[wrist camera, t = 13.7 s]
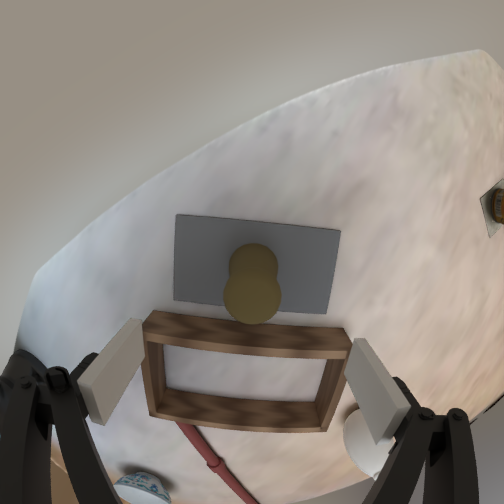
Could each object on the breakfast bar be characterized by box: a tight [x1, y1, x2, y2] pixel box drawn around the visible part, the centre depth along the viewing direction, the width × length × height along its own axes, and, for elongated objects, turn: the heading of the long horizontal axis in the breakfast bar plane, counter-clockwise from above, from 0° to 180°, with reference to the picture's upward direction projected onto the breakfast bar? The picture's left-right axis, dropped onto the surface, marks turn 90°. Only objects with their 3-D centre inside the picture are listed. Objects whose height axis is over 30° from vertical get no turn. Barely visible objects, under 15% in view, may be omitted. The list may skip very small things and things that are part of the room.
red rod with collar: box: [176, 422, 258, 504], centre depth 43 cm, size 45×3×3 cm, turn 18°
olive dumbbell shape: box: [223, 243, 282, 325], centre depth 28 cm, size 6×6×11 cm
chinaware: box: [113, 472, 171, 504], centre depth 43 cm, size 15×15×8 cm
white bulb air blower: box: [343, 409, 394, 481], centre depth 31 cm, size 8×8×18 cm
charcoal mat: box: [174, 215, 341, 314], centre depth 34 cm, size 20×11×1 cm, turn 85°
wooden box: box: [141, 310, 353, 433], centre depth 34 cm, size 26×15×6 cm, turn 85°
